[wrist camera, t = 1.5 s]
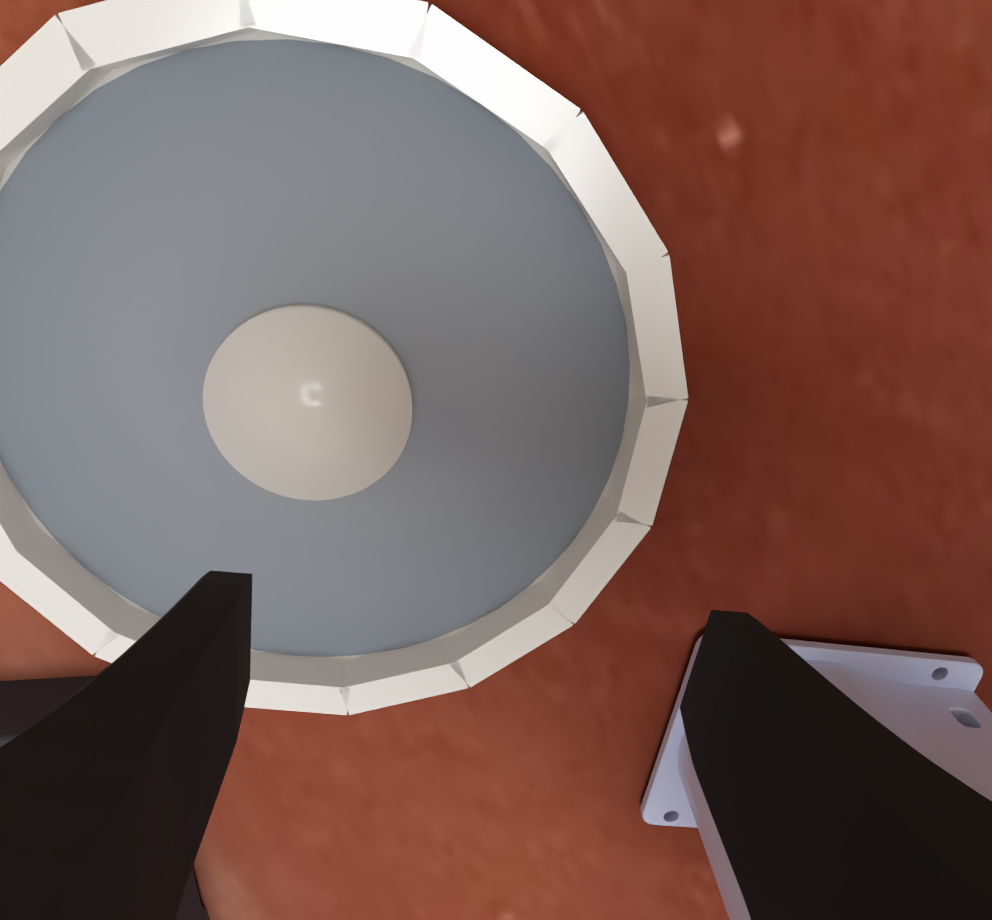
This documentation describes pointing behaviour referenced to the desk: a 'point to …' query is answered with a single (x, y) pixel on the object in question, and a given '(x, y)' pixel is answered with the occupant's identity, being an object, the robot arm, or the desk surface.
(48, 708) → the calculator
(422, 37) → the ring tray
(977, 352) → the desk surface
